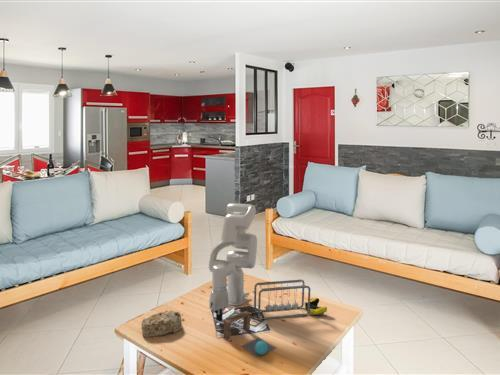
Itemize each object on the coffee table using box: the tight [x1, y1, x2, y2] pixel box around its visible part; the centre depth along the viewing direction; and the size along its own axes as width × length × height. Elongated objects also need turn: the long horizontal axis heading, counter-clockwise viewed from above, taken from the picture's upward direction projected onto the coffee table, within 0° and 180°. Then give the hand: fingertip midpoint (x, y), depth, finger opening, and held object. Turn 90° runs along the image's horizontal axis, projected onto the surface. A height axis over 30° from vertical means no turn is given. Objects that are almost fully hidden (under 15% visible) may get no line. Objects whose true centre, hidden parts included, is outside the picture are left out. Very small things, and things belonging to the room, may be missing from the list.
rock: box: [141, 310, 183, 338], centre depth 214 cm, size 21×14×10 cm
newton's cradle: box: [253, 279, 311, 320], centre depth 232 cm, size 30×10×18 cm, turn 103°
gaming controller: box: [304, 297, 328, 316], centre depth 237 cm, size 15×6×10 cm
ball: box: [255, 340, 268, 356], centre depth 193 cm, size 6×6×6 cm
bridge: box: [223, 310, 251, 341], centre depth 210 cm, size 3×15×10 cm, turn 132°
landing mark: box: [240, 337, 277, 358], centre depth 199 cm, size 12×12×1 cm
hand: (219, 319), depth 222 cm, fingers closed
